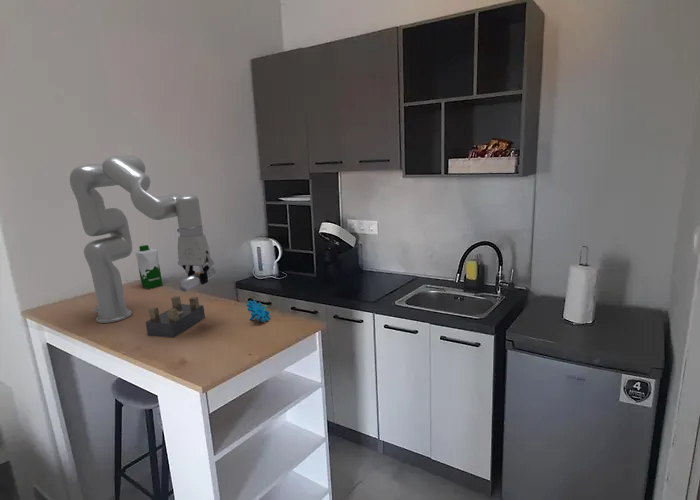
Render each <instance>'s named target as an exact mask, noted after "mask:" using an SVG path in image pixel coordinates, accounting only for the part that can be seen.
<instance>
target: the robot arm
mask: <svg viewBox="0 0 700 500" xmlns="http://www.w3.org/2000/svg"><path fill="white" fill-rule="evenodd" d="M69 184H70V185H69V186H70V188H71V190H72V192H73V193H72V194H73V195H74V196H75V199H76V202H77V207H78V211H79V215H80V220H81V225H82V228H83V231H84V233H85V234H86V235H88V236H89V237H100V236H104V235H108V234H110V236H108V237H102V238H99V239H95V240H92V241H90V242H88V243H87V244H86V245H85V247H84V248H83V255H84V257H85V260H86V262H87V265H88V267H89V270H90V273H91V278H92V283H93V288H94V292H95V298H96V303H97V306H95V308H94V309H93V313H97V314H98V315H97V316H96V317H95V321H96V322H97V323H99V324H103V323H104V324H109V323H110V324H111V323H114V322H115V323H116V322H118V321H122V320H125V319H128V318H130V316H132V314H133V312H132V310H131V309H128V307H127V304H126V298H125V293H124V288H123V283H122V277H121V273H120V270H119V269H118V268H117V266H115V264H114V263H113V262H115V261H119V260H122V259H125V258H127V257H129V256H130V255H131V254H132V252H133V242H132V236H131V231H130V226H129V222H128V219H127V216H126V215H125V213H124V211H122V209H119V208H116V207H111V208H106V207H105V201H104V197H103V196H102V194H100V192H99V191H98V190H97V189H96V188H103V187H105V188H106V187H114V186H120V187H121V188H122V189H124V190H125V191H126V192H128V193H130V194H129V196H130V199H131V200H130V201H131V202H132V204H133V206H134V207H135V208H136V210H138V211H139V212H140V213H142V215H144V216H146V217H147V218H149V219H152V220H155V221H162V220H165V219H169V218H175V217H176V218H177V223H178V225H177V226H178V228H177V233H179V236H178V237H177V238H178V239H177V255H178V262H177V264H178V265H179V266H180V267H181V268H182V269H184V271H185V273H186V274H187V277H189V276H191V275H193V274H195V273H196V271H195V270H194V266H195V267H198V268H199V272H200V271H201V273H200V280H201V284H200V285H205V284H207V283H208V282H209V280H208V276H207V271H208V270H209V268H210V267H213V266H214V265H215V262H214V261H213V259H212V257H211V252H210V247H209V243H208V240H207V237H206V235H205V234H204V229H203V221H202V216H201V215H202V214H201V208H200V207H201V206H200V200H199V197H198V196H197V195H194V194H189V195H188V194H187V195H184V194H183V195H182V194H168V195H162V196H153V195H151V194H150V193H148V192H147V191H148V190H149V189H150V186H151V178H150V177H149V174H148V175H147V174H146V165H145V163H144V162H143V160H142V159H141V158H139V157H138V156H135V155H115V156H110V157H108V158H106V159H105V160H104V161H103V162H102V163H90V164H89V163H88V164H82V165H79V166H76V167H75V168H73V169H72V171H71V173H70V175H69Z"/></svg>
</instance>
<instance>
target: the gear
mask: <svg viewBox="0 0 700 500" xmlns="http://www.w3.org/2000/svg"><path fill="white" fill-rule="evenodd" d="M246 307H247V311H248V312H250V316H251V317H250V318H248V320H249V321H250V320H252V321H253V319H256V321H259V320H260V322H262V323H264V322H266V321H267V322H269V320H270V318H271V315H270V311H269V310H266V309H267V305H266V304H264V305H263V306H262V303H261V302H260V301H259V302H258V303H257V300H255V299H254V300H249V301H248V303H247V304H246Z"/></svg>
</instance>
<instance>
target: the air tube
mask: <svg viewBox="0 0 700 500" xmlns="http://www.w3.org/2000/svg"><path fill="white" fill-rule="evenodd" d="M200 273H201V271H200V270H199V271H198V272H195V274H193V275H191V276H189V277H188V276H186V277H185V278H182V279H180V280H179V281H178V288H179V289H180V291H182V292H187V291H189V290H191V289H193V288H195V287H196V286H197V287H198V286H199V285H202V284H201V280H200ZM216 275H217V270H216V269H215V268H214V267H213V266H211V267H210V268H209V270H208V271H207V276H208V281H209V280H211V279H212V278H214V277H216Z"/></svg>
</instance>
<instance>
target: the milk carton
mask: <svg viewBox="0 0 700 500" xmlns="http://www.w3.org/2000/svg"><path fill="white" fill-rule="evenodd" d="M138 248H139V250H136V251H134V252H135V256H136V261H137V267H138V271H139V272H138V273H139V278H140V282H141V287H142V286H143V287H142V288H144V287H146V288H148V289H147V290H151V289H150V288H152V289H155V288H154V287H156V288H158V287H157V286H159V287H162V286H164V285H163V280H162V275H161V274H162V271H161V265H160V261H159V260H160V259H159V251H158V249H156V248H150V247H149V245H148V244H146V245H139V247H138ZM146 288H145V289H146Z"/></svg>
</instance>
